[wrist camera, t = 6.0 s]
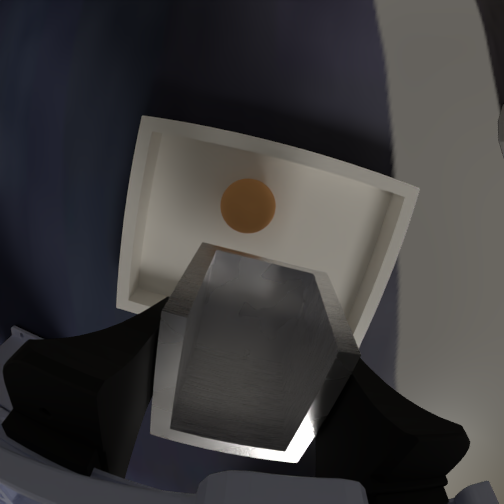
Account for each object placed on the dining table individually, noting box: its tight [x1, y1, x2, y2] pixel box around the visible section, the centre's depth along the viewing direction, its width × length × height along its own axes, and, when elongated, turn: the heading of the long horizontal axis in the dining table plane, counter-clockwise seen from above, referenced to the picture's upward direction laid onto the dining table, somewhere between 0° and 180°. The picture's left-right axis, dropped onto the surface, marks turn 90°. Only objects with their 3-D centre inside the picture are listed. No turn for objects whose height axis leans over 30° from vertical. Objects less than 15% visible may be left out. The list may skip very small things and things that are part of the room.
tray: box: [116, 115, 420, 348], centre depth 19 cm, size 16×12×2 cm
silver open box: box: [150, 242, 361, 463], centre depth 12 cm, size 6×6×6 cm
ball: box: [220, 178, 276, 233], centre depth 18 cm, size 3×3×3 cm
